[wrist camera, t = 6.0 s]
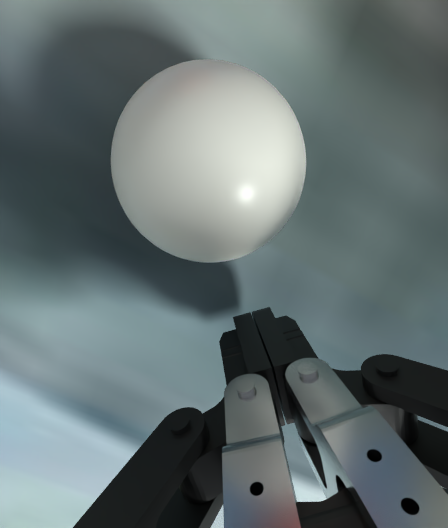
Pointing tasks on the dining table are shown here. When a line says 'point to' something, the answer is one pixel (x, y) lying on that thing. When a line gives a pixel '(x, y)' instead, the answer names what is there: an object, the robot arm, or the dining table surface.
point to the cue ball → (208, 160)
